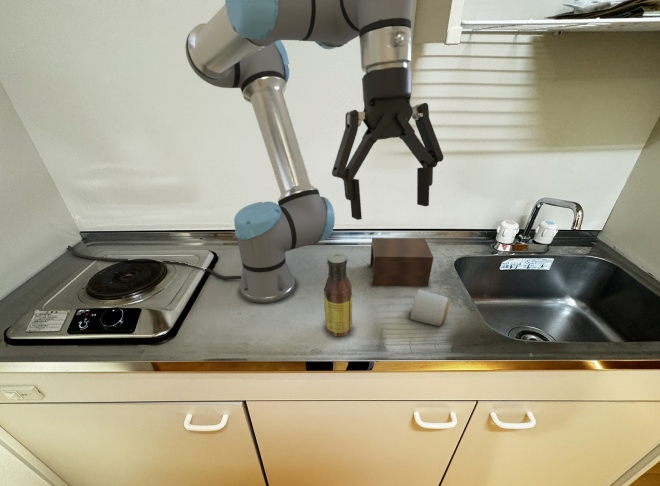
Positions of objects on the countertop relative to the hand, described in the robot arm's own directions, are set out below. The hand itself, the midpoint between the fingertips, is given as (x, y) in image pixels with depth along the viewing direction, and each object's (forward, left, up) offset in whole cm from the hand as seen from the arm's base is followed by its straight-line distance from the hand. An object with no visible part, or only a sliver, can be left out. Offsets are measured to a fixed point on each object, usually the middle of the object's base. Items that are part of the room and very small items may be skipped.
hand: (390, 211), depth 58 cm
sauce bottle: (-10, +1, -30) cm, 31 cm away
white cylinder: (+13, +6, -30) cm, 33 cm away
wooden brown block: (+8, +26, -30) cm, 40 cm away
